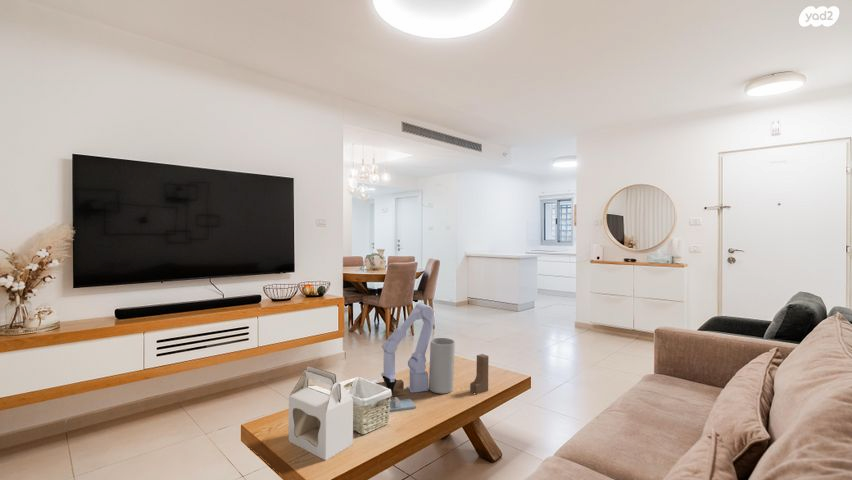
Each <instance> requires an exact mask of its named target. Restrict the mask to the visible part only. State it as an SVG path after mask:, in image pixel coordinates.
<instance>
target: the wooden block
mask: <svg viewBox="0 0 852 480" xmlns="http://www.w3.org/2000/svg"><path fill="white" fill-rule="evenodd" d="M486 390H488V391H489V355H487V354H484V353H481V354H477V355H476V376H475V379H474V380H473V381H471V382H470V385H469V391H470V393H472V394H474V393H475V394H474V395H479V394H482V393H484V392H483V391H485V392H487V391H486ZM481 392H482V393H481ZM478 393H479V394H478Z"/></svg>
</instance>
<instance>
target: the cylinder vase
mask: <svg viewBox="0 0 852 480" xmlns="http://www.w3.org/2000/svg"><path fill="white" fill-rule="evenodd" d="M429 345H430V346H429V347H430V349H429V373H428V389H429V390H430V391H431V392H433V393H436V394H442V395H443V394H449V393H451V392H452V391H453V390H454V374H455V348H456V347H455V346H456V341H455V340H454V339H451V338H447V337H434V338H432V339H430V343H429Z"/></svg>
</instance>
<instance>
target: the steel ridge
mask: <svg viewBox="0 0 852 480" xmlns="http://www.w3.org/2000/svg"><path fill="white" fill-rule="evenodd" d="M399 400H400V399H399V398H398V397H397V396H395V397H391V401H392V402H393V404H394V406H395V408H399V407H401V402H400V401H399Z"/></svg>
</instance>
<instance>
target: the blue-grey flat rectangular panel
mask: <svg viewBox="0 0 852 480" xmlns="http://www.w3.org/2000/svg"><path fill="white" fill-rule="evenodd" d="M399 401H400V402H401V407H399V408H395V406H394V404H393V402H392V400H391V401H390V409H389V413H392V412H393V413H394V412H399V411H400V412H401V411H408V410H414V409H416V408H417V406H416V405H415V403H414V402H413V400H412V398H405V399H404V398H403V399H399Z"/></svg>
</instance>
